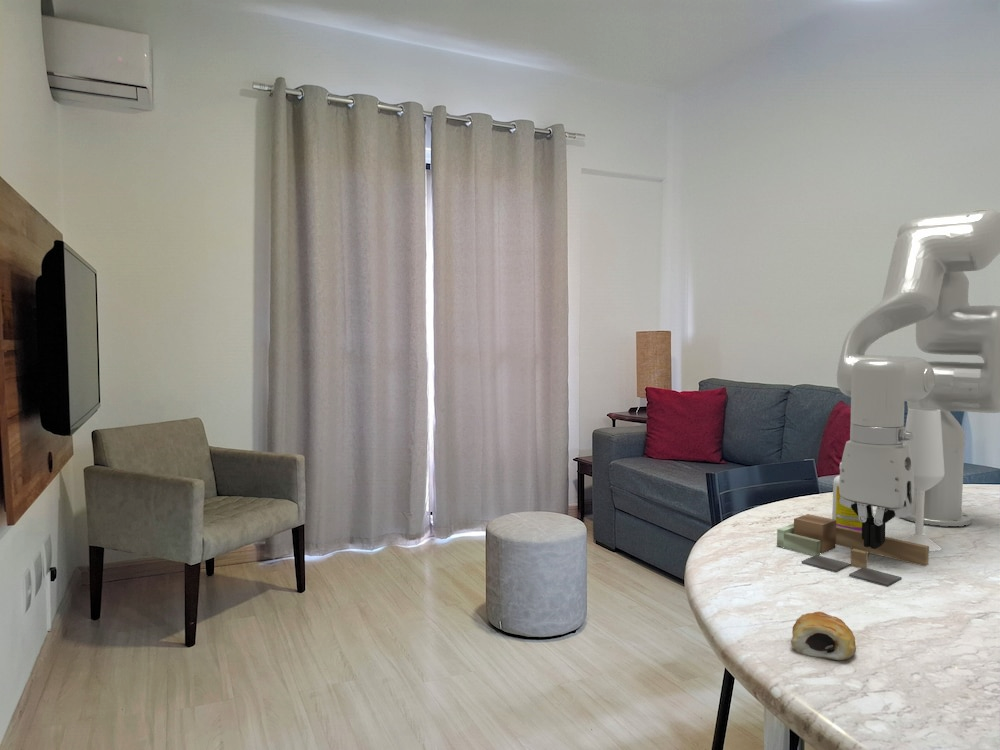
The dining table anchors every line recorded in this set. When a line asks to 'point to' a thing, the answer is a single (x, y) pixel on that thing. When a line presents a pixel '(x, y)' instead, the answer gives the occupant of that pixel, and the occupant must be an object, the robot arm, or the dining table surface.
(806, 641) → the pastry
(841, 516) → the supplement bottle
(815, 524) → the block
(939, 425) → the champagne flute
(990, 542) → the dining table surface
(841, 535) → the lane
